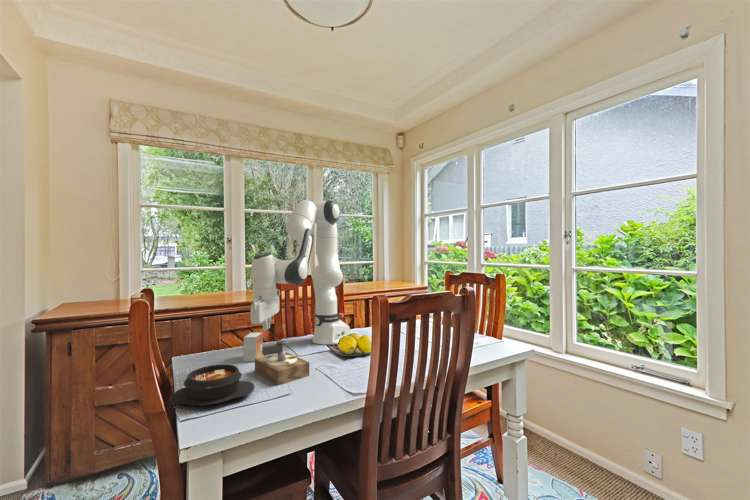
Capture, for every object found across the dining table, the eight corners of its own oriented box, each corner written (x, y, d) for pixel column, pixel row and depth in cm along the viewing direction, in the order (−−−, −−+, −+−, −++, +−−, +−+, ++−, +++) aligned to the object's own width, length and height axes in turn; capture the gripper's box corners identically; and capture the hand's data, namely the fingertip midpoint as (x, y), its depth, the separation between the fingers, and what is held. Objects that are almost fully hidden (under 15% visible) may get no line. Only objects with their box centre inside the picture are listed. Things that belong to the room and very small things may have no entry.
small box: (256, 362, 145) (256, 337, 145) (243, 361, 145) (243, 337, 145) (263, 355, 153) (263, 332, 153) (250, 355, 153) (250, 332, 153)
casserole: (160, 416, 99) (160, 387, 99) (178, 390, 117) (178, 365, 117) (252, 405, 106) (252, 378, 106) (256, 382, 124) (256, 359, 124)
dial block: (284, 363, 143) (284, 350, 143) (309, 375, 130) (309, 361, 130) (254, 371, 134) (254, 358, 134) (278, 385, 121) (277, 370, 121)
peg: (295, 355, 137) (295, 338, 137) (299, 357, 134) (298, 340, 134) (261, 361, 130) (261, 343, 129) (264, 364, 127) (264, 345, 126)
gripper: (261, 299, 124) (263, 337, 125) (281, 290, 145) (283, 322, 145) (244, 299, 125) (246, 337, 125) (267, 290, 145) (268, 323, 146)
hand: (266, 329), depth 136 cm, fingers closed
